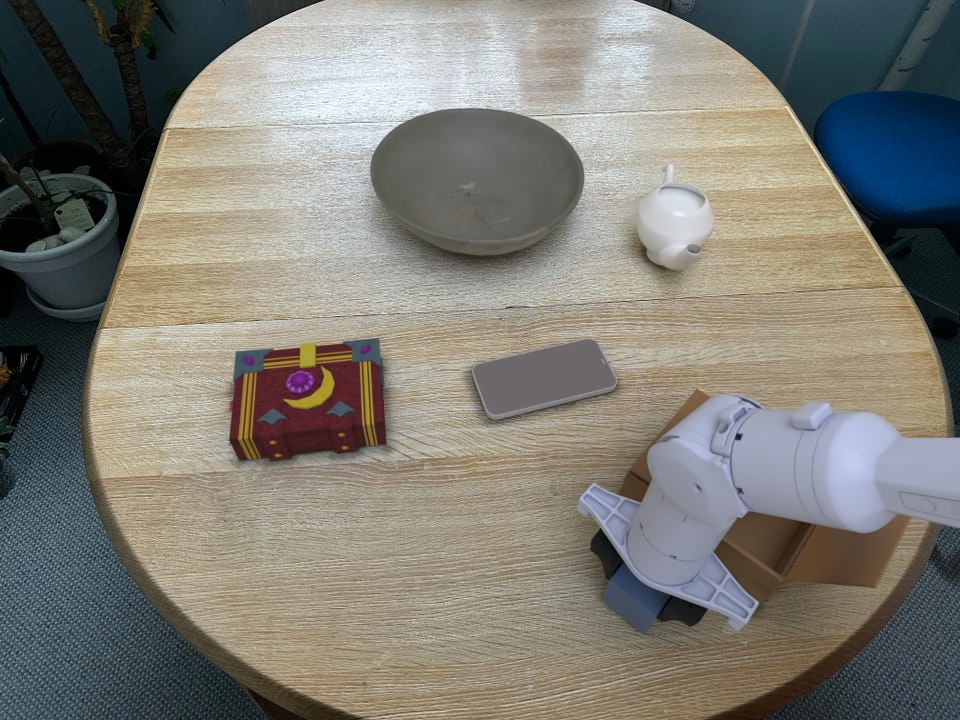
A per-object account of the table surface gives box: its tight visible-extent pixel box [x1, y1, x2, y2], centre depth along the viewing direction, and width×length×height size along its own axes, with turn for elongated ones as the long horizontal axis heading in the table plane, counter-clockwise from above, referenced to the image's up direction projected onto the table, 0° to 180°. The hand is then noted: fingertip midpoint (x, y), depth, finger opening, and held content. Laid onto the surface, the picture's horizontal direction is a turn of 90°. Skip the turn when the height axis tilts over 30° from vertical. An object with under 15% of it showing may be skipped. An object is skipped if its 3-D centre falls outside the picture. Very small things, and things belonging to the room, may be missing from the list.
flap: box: [785, 514, 913, 589], centre depth 53 cm, size 7×12×1 cm
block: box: [600, 562, 672, 635], centre depth 57 cm, size 4×4×4 cm
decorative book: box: [228, 337, 387, 462], centre depth 70 cm, size 11×16×5 cm
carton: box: [618, 388, 818, 608], centre depth 62 cm, size 15×12×8 cm
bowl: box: [369, 107, 585, 257], centre depth 89 cm, size 27×28×8 cm
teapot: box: [634, 162, 716, 271], centre depth 85 cm, size 10×20×9 cm, turn 178°
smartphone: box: [471, 337, 618, 421], centre depth 74 cm, size 7×1×15 cm
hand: (640, 591), depth 58 cm, fingers closed on block, 4 cm apart
